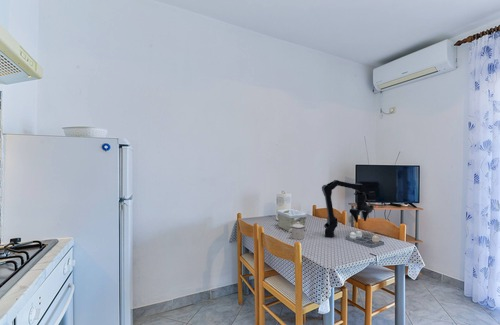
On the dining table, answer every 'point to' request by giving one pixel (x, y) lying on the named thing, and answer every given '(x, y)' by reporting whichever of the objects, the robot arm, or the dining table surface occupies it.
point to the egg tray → (365, 241)
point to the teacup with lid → (297, 231)
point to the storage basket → (290, 218)
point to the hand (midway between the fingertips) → (360, 221)
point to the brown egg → (375, 239)
